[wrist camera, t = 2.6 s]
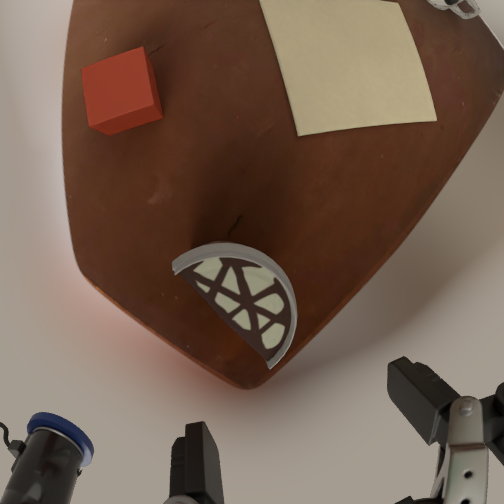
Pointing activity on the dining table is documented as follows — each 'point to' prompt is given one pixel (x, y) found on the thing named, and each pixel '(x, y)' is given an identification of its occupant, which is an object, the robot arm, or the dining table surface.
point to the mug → (456, 7)
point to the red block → (121, 92)
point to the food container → (244, 293)
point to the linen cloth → (347, 64)
